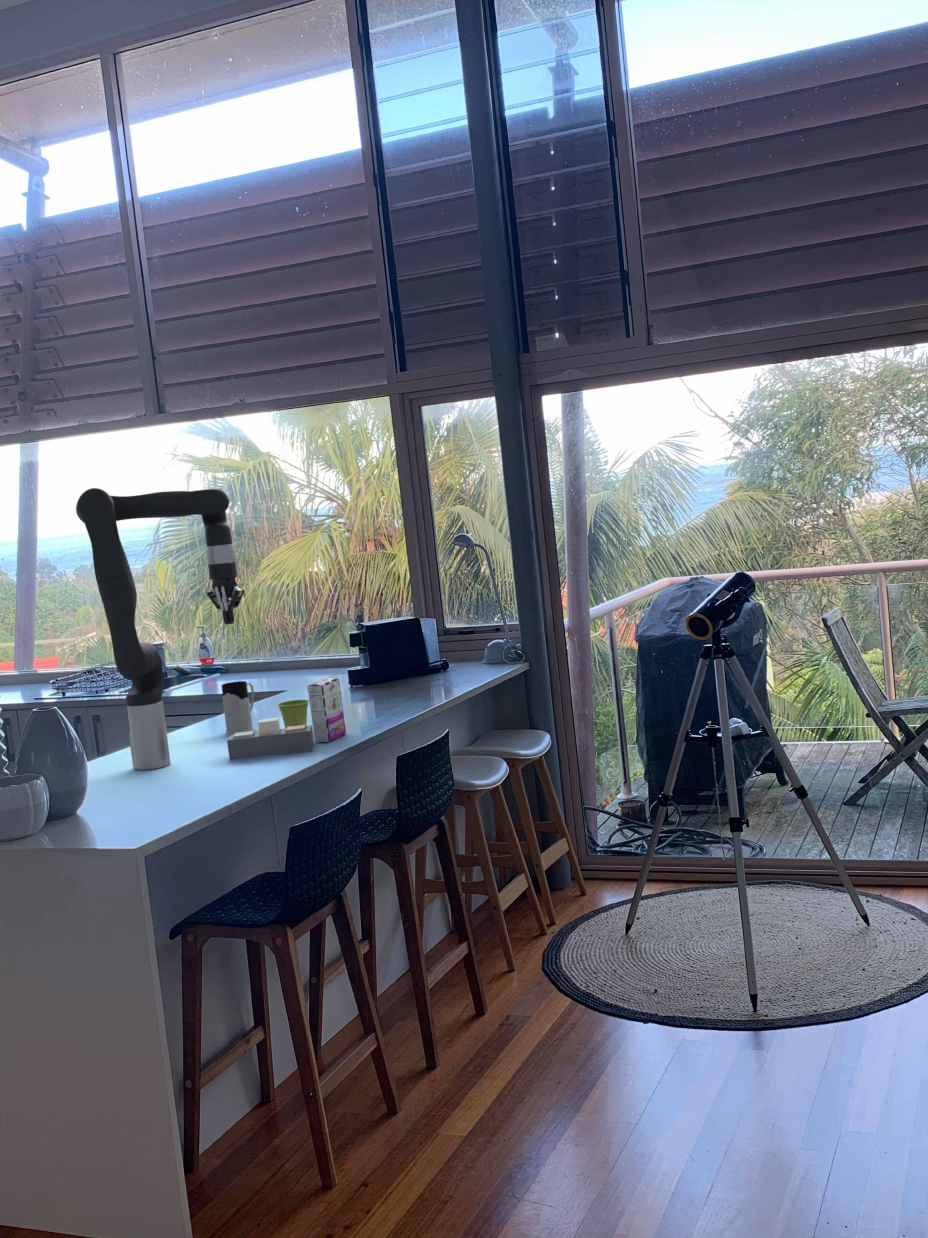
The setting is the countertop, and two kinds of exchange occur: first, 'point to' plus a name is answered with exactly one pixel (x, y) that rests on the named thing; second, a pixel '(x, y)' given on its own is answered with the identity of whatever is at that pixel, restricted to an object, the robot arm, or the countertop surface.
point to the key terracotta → (296, 728)
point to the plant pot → (294, 712)
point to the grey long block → (270, 744)
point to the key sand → (269, 726)
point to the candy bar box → (326, 710)
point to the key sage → (243, 734)
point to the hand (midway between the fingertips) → (229, 623)
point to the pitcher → (237, 707)
